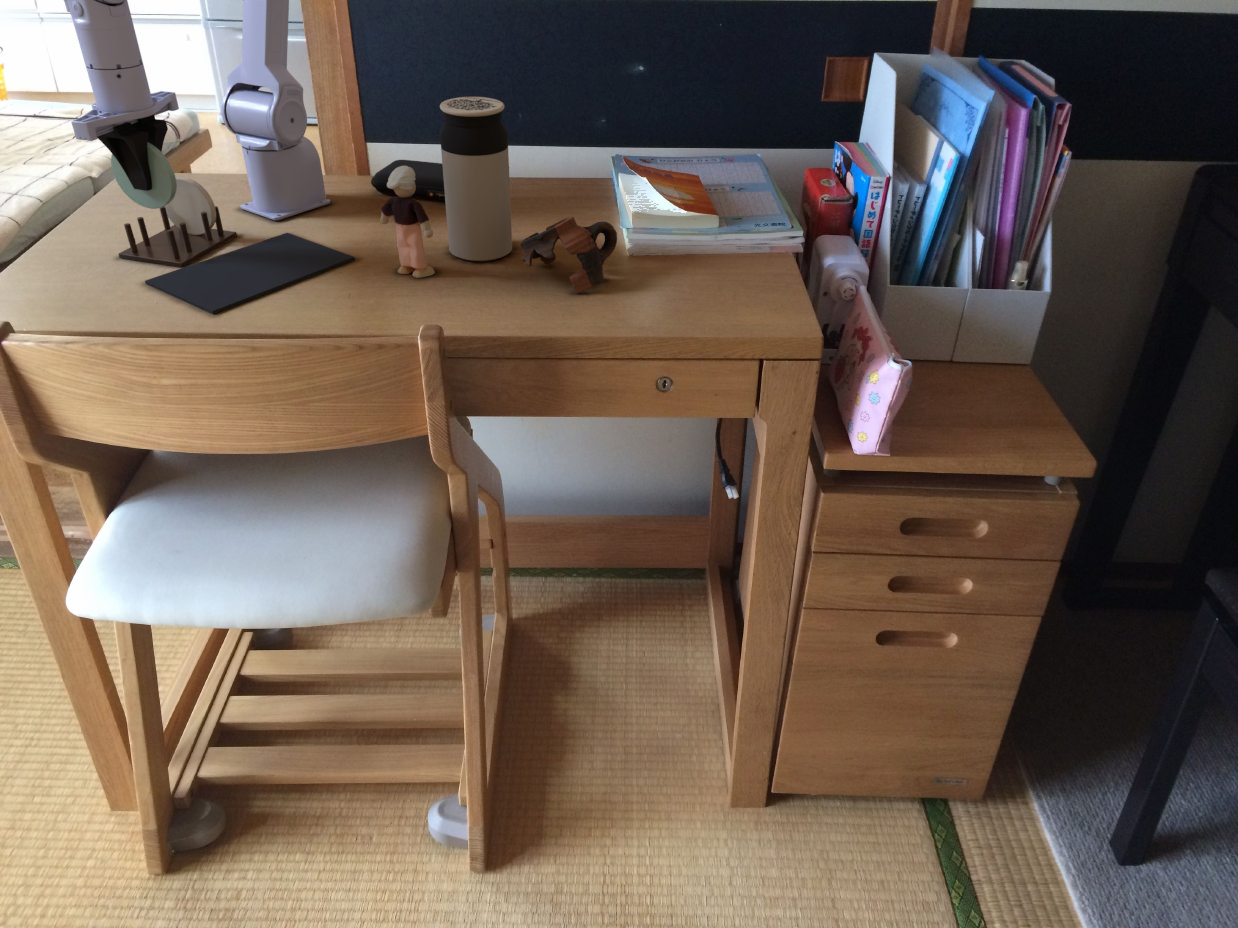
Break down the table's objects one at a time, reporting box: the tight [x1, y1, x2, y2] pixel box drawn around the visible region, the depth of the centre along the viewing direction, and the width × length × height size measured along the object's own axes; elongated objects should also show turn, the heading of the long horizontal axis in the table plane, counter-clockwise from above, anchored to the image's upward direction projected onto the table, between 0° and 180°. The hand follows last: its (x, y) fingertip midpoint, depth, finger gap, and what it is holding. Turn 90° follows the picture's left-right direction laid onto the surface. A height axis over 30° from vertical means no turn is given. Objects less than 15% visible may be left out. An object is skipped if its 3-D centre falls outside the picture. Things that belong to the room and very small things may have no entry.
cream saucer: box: [164, 176, 216, 235], centre depth 117 cm, size 1×7×7 cm, turn 74°
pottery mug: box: [519, 216, 618, 295], centre depth 112 cm, size 12×10×8 cm
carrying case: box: [370, 159, 445, 201], centre depth 136 cm, size 11×3×15 cm
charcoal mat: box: [144, 232, 356, 315], centre depth 111 cm, size 20×13×1 cm, turn 144°
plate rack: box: [118, 205, 238, 268], centre depth 116 cm, size 11×9×4 cm
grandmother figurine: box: [379, 166, 435, 279], centre depth 109 cm, size 8×4×13 cm, turn 71°
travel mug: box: [439, 96, 513, 262], centre depth 113 cm, size 8×8×18 cm
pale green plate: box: [110, 142, 177, 210], centre depth 109 cm, size 1×8×8 cm, turn 74°
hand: (147, 187), depth 110 cm, fingers closed on pale green plate, 1 cm apart
